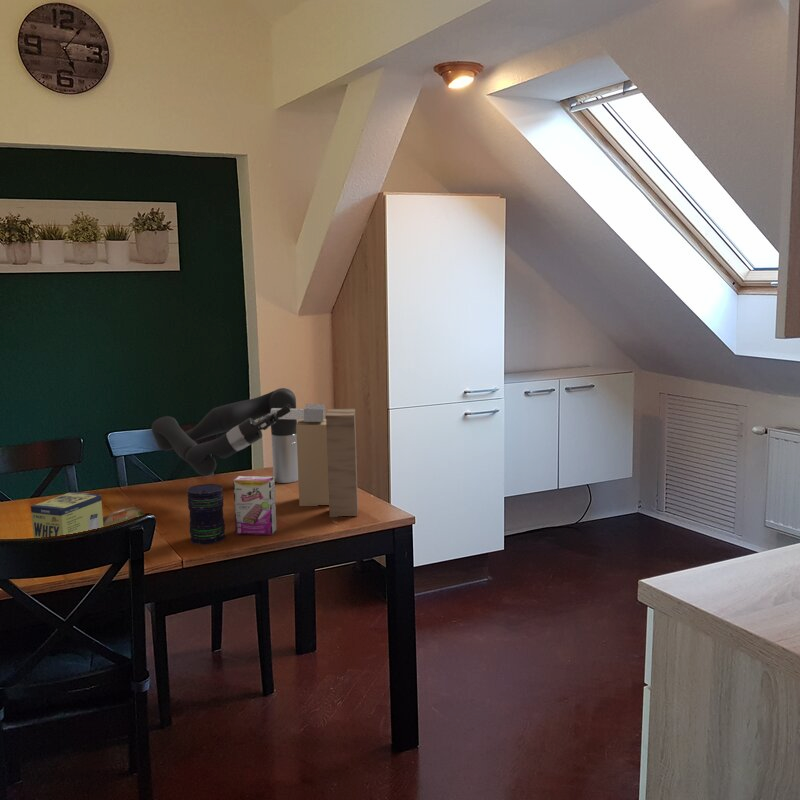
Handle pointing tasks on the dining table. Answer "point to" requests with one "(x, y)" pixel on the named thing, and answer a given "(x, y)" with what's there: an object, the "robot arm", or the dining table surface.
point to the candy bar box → (254, 505)
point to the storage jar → (206, 514)
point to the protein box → (67, 515)
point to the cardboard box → (312, 463)
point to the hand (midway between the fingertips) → (289, 407)
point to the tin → (122, 516)
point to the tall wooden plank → (342, 462)
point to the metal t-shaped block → (305, 413)
